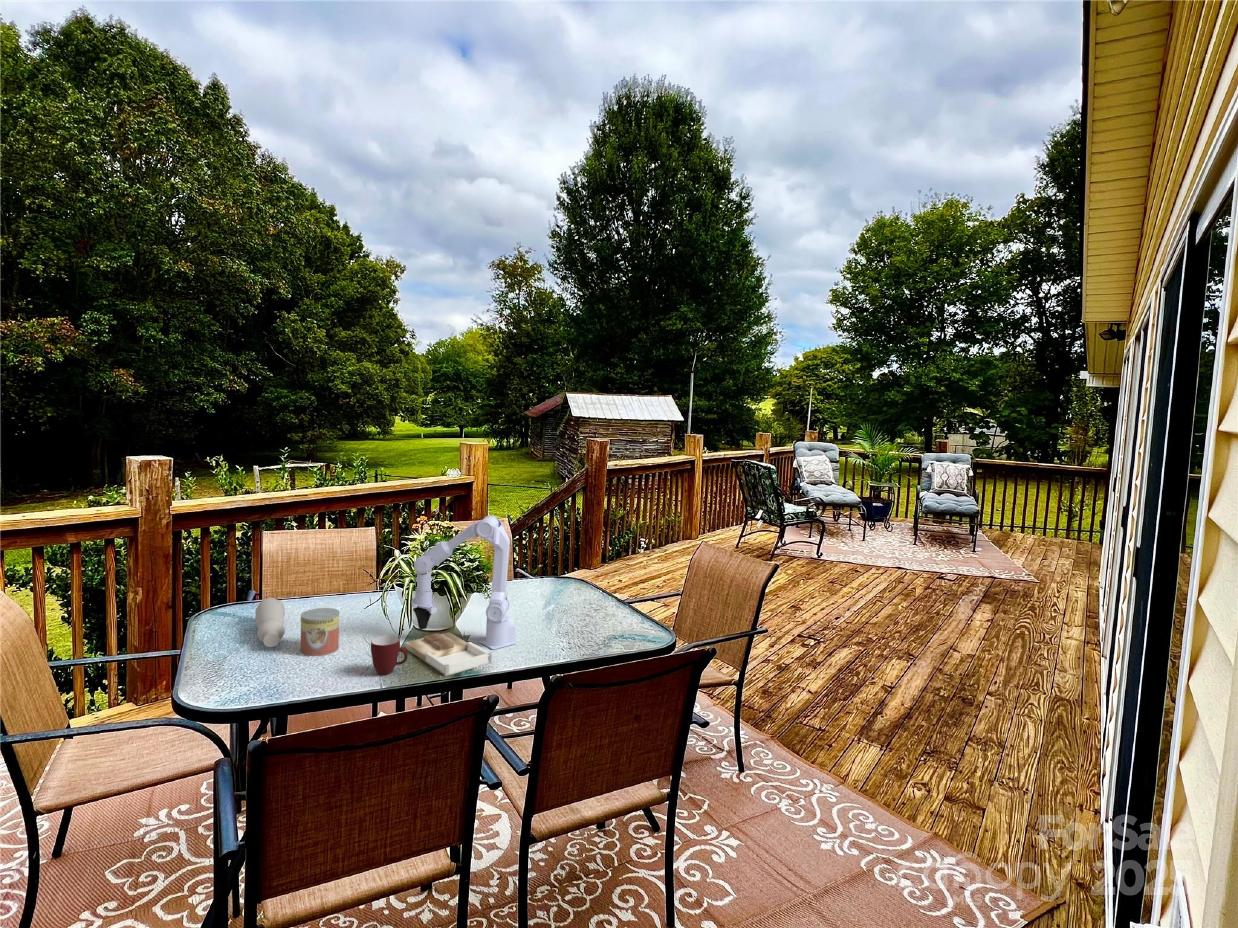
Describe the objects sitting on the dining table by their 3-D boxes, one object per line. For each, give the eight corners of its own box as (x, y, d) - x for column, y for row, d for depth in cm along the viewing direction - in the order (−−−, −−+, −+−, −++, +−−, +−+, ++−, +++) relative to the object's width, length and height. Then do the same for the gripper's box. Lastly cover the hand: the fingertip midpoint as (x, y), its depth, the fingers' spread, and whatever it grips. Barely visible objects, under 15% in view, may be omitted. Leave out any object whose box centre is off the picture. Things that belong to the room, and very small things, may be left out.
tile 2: (446, 642, 210) (446, 638, 209) (453, 647, 206) (454, 642, 206) (432, 645, 206) (432, 641, 206) (439, 650, 202) (440, 646, 202)
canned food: (296, 657, 196) (296, 620, 195) (304, 643, 207) (304, 608, 206) (335, 655, 199) (336, 618, 198) (341, 642, 210) (342, 607, 209)
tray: (470, 650, 209) (470, 641, 209) (491, 662, 200) (491, 653, 200) (425, 662, 198) (425, 652, 198) (445, 675, 189) (445, 666, 189)
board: (448, 637, 219) (449, 632, 219) (470, 650, 209) (470, 644, 209) (405, 648, 208) (405, 642, 208) (425, 661, 198) (425, 655, 198)
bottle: (249, 613, 222) (248, 646, 196) (266, 591, 224) (267, 621, 198) (273, 624, 227) (275, 658, 201) (289, 603, 228) (293, 633, 202)
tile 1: (437, 637, 214) (437, 632, 214) (444, 641, 210) (444, 637, 210) (423, 640, 210) (423, 636, 210) (430, 645, 207) (431, 640, 207)
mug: (408, 665, 195) (409, 634, 194) (406, 676, 187) (407, 644, 186) (371, 667, 192) (372, 635, 191) (368, 679, 184) (369, 645, 183)
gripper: (403, 586, 217) (402, 624, 218) (423, 597, 207) (421, 637, 208) (422, 583, 222) (421, 620, 223) (442, 593, 212) (441, 632, 213)
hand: (422, 628), depth 216 cm, fingers closed
